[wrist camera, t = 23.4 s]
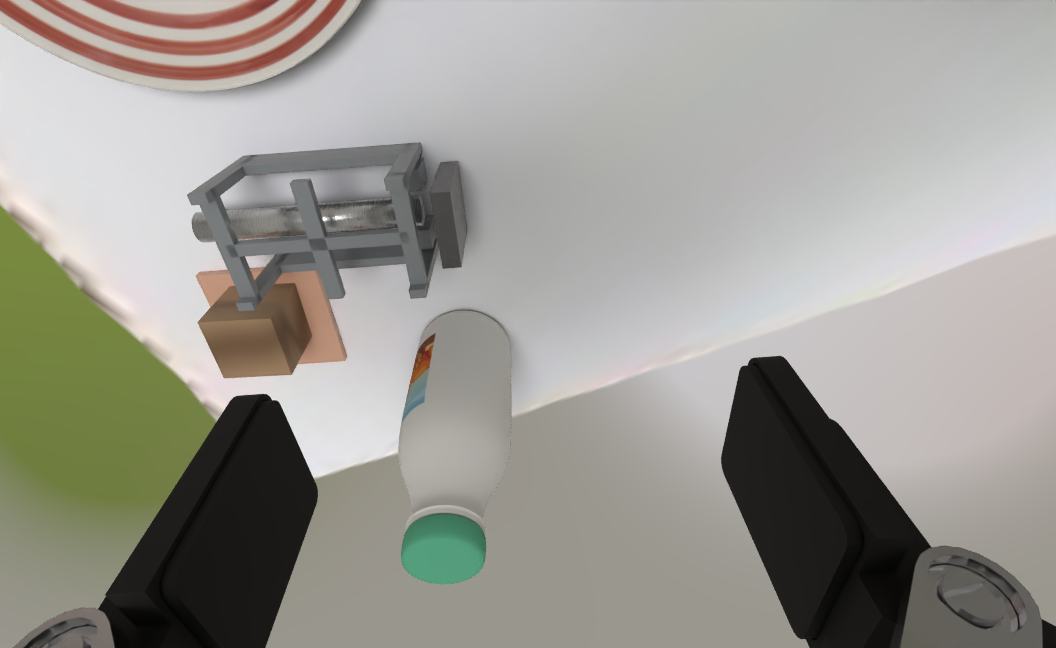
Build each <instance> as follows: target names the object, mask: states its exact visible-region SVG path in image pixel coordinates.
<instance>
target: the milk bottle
mask: <svg viewBox="0 0 1056 648" xmlns="http://www.w3.org/2000/svg"><path fill="white" fill-rule="evenodd" d="M510 446H511V352H510V343H509V339H508V337H507V335H506V333H505V331H504V330H503V329H502V327H501V326H500V325H499V324H498V323H497V322H496V321H494V320H493V319H491V318H490V317H488V316H486V315H484V314H482V313H478V312H474V311H465V310H462V311H453V312H450V313H446V314H444V315H442V316H440V317H438V318H437V319H435V320H434V321H432V322H431V323H430V324H429V325H428V326H427V327H426V329H425V330H424V332H423V334H422V336H421V339H420V343H419V347H418V351H417V355H416V359H415V364H414V368H413V372H412V377H411V381H410V385H409V390H408V394H407V399H406V404H405V408H404V413H403V418H402V423H401V429H400V435H399V449H398V452H399V462H400V467H401V472H402V475H403V479H404V481H405V484H406V486H407V489H408V492H409V496H410V500H411V507H412V516H411V517H410V518H409V519H408V521H407V523H406V527H405V530H406V532H405V535H404V539H403V543H402V550H401V560H402V565H403V567H404V568H405V570H406V571H407V572H408V573H409V574H411V575H412V576H414V577H415V578H417V579H420V580H422V581H425V582H429V583H434V584H453V583H459V582H462V581H465V580H468V579H470V578H472V577H473V576H475V575H476V574H477V573H478V572H479V571H480V570H481V569H482V567H483V564H484V561H485V554H486V538H485V535H486V525H485V522H484V521H483V516H484V512H485V509H486V507H487V504H488V502H489V500H490V498H491V496H492V494H493V493H494V491H495V489H496V488H497V486H498V484H499V482H500V481H501V479H502V477H503V474H504V472H505V469H506V466H507V463H508V459H509V453H510Z"/></svg>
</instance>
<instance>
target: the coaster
mask: <svg viewBox="0 0 1056 648" xmlns="http://www.w3.org/2000/svg"><path fill="white" fill-rule="evenodd" d="M264 268H265V267H263V268H250V270H251V273H252V275H253V278H254V280H255V279H256V278H257V277H258V275H259V274H260V273H261V272H262V271H263V269H264ZM196 278H197V280H198V282H199V284H200V286H201V288H202V290H203V292H204V294H205V296H206V298H207V301H208V303H209V305H210V307H212V306H213V304H214V303H215V302H216V301H217V300H218V299H219V298H220V296H221V295H222V294H223V293H224V292H225V291H226V290H227V289H228V287H229V286H235V285H234V283H233V280H232V278H231V276H230V273H229V271H228V270H222V271H209V272H199V273H198V274H197V275H196ZM284 283H295V285H296V288H297V291H298V294H299V297H300V300H301V303H302V306H303V309H304V312H305V315H306V318H307V321H308V324H309V327H310V330H311V333H312V338H311V340H310V341H309V343H308V345H307V347H306V349H305V351H304V353H303V354H302V356H301V358H300V360H299V362H298V364H308V363H322V362H335V361H345V360H346V357H347V355H346V352H345V349H344V346H343V343H342V340H341V337H340V334H339V331H338V328H337V325H336V322H335V319H334V316H333V313H332V309H331V306H330V303H329V300H328V298H327V295H326V292H325V289H324V286H323V283H322V280H321V277H320V274H319V271H318V270H316V271H302V272H289V273H282V274H281V276H280V277H279V278H278V280H277V281H276V282H275V284H284Z"/></svg>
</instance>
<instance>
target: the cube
mask: <svg viewBox="0 0 1056 648" xmlns="http://www.w3.org/2000/svg"><path fill="white" fill-rule="evenodd" d="M239 299H240V296H239V294H238V292H237V289H236V287H235V286H229V287H228V289H227V290H226V291H225V292H224V293H223V294H222V295H221V296H220V298H219V299H218V300H217V301H216V302H215V303H214V304H213V306H212V307H211V308H210V309H209V310H208V311H207V312H206V313H205V315H204V316H203V317H202V318H201V319H200V320H199V321H198V324H199V326H200V328H201V331H202V333H203V335H204V337H205V339H206V341H207V343H208V345H209V347H210V350H211V352H212V354H213V356H214V358H215V360H216V362H217V364H218V366H219V369H220V371H221V373H222V375H223V377H224V378H238V377H257V376H277V375H292V373H293V371H294V369H295V368H296V366H297V364H298V362H299V360H300V358H301V356H302V354H303V353H304V351H305V349H306V347H307V345H308V343H309V341H310V340H311V338H312V333H311V330H310V327H309V324H308V321H307V318H306V315H305V312H304V309H303V306H302V303H301V300H300V297H299V294H298V291H297V288H296V285H295V283H284V284H274V285H273V286H272V288H271V289H270V290H269V292H268V293H267V294H266V296H265V297H264V298H263V300H262V301H261V302H260V304H259V305H258V306H257V308H256V309H255V310H251V311H239V310H238V308H237V306H236V302H237V301H238V300H239Z"/></svg>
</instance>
